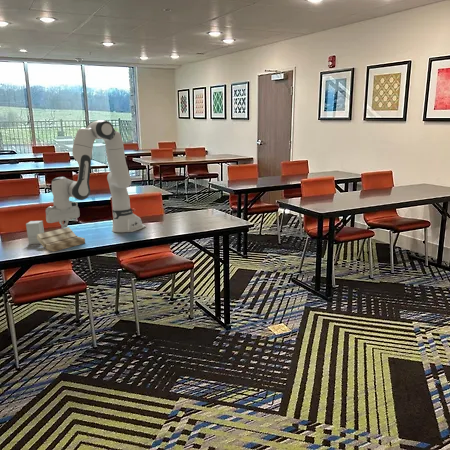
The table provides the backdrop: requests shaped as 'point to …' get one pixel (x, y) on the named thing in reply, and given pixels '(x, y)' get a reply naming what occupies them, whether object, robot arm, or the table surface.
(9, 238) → the table surface
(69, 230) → the tan quilted pad
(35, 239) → the supplement box
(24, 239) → the table surface
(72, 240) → the laid board
